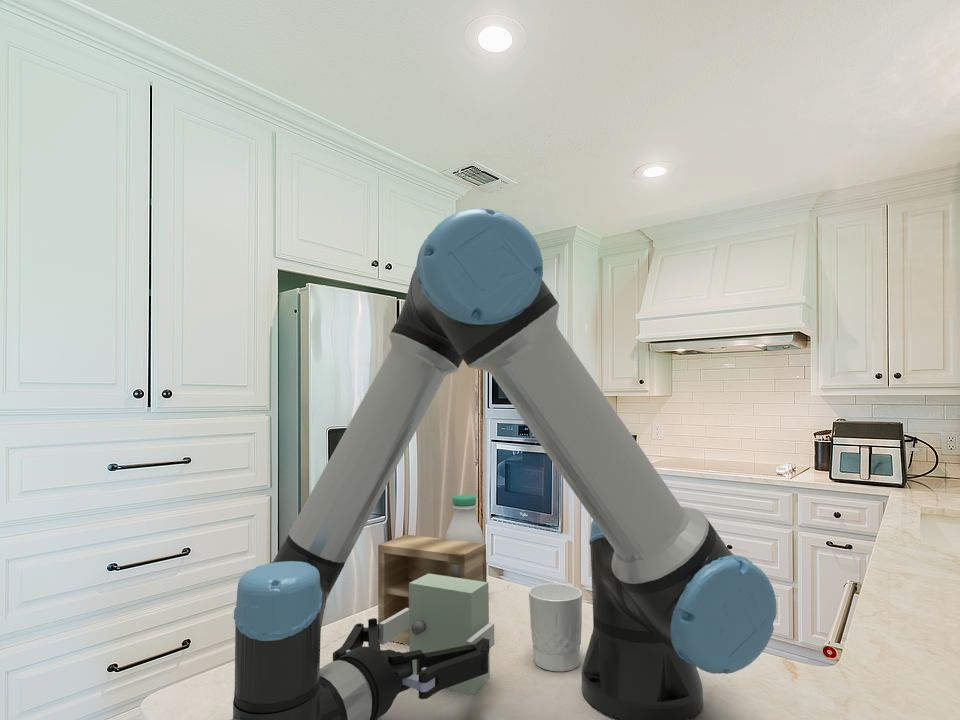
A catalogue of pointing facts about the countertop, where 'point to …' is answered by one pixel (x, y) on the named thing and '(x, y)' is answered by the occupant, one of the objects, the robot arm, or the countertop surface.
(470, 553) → the cabinet
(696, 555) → the robot arm
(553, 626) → the white cup
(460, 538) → the milk bottle
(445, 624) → the door panel
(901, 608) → the countertop surface
